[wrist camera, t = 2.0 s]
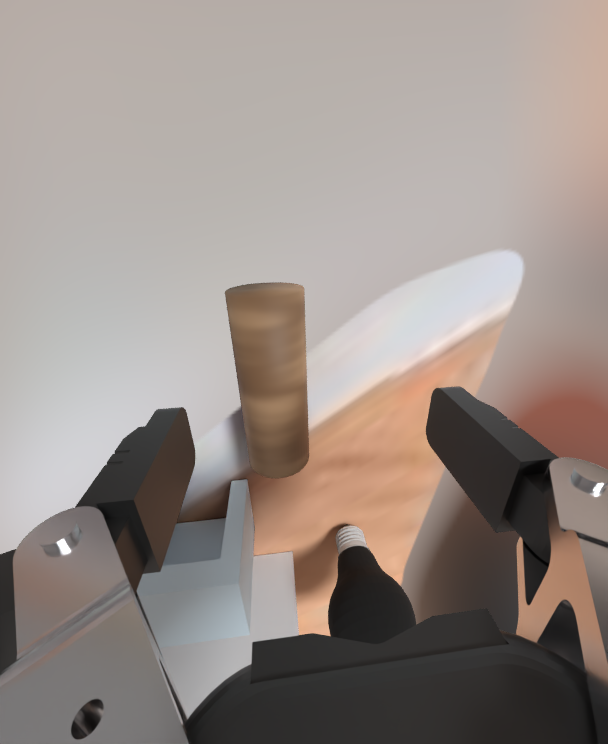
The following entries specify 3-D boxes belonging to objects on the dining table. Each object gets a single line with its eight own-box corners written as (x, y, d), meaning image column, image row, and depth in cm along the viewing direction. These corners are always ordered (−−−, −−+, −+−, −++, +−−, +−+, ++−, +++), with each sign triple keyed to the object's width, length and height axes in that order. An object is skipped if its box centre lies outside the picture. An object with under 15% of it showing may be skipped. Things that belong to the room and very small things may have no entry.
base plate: (134, 570, 26) (65, 747, 17) (292, 551, 28) (304, 707, 19) (140, 584, 27) (77, 758, 18) (293, 564, 28) (305, 719, 19)
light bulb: (322, 554, 28) (348, 706, 19) (307, 514, 26) (328, 668, 17) (382, 537, 28) (436, 683, 19) (373, 495, 25) (430, 641, 17)
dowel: (263, 280, 18) (208, 292, 15) (319, 286, 16) (266, 302, 13) (276, 430, 23) (236, 460, 20) (320, 450, 20) (282, 488, 18)
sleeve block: (140, 490, 22) (85, 603, 16) (247, 479, 23) (238, 583, 16) (158, 538, 25) (117, 653, 18) (254, 527, 25) (249, 635, 19)
